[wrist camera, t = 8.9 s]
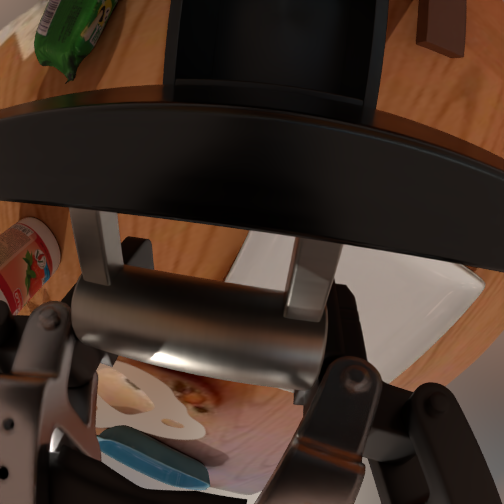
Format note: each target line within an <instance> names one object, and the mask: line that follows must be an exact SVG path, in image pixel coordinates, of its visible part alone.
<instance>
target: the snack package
mask: <svg viewBox="0 0 504 504" xmlns="http://www.w3.org/2000/svg"><path fill="white" fill-rule="evenodd" d="M117 2H118V0H49V2H48V4H47V7H46V9H45V11H44V14H43V16H42V18H41V20H40V23H39V26H38V28H37V31H36V35H35V41H34V48H35V54H36V56H37V59H38V61H39V63H40V65H42V66H53V67H55V68H57V69H58V70H59V71H61V72H62V73H63V74H64V75H65V76H66V77H67V78H68V81H67V82H69V81H73V80H74V78H75V76H76V71H77V68H78V66H79V64H80V63H81V61H82V60H83V59H84V58H85V57H86V56H87V55H88V54H89V53H90V52H91V51H92V49H93V48H94V46H95V44H96V42H97V40H98V38H99V36H100V35H101V33H102V31H103V29H104V27H105V25H106V23H107V21H108V19H109V17H110V15H111V13H112V11H113V9H114V7H115V5H116V3H117ZM67 82H66V83H67ZM66 83H65V84H66Z"/></svg>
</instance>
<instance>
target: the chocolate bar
mask: <svg viewBox="0 0 504 504" xmlns="http://www.w3.org/2000/svg"><path fill="white" fill-rule="evenodd" d="M465 34H466V0H419V8H418V24H417V36H416V44H417V45H420V46H423V47H425V48H428V49H430V50H433V51H435V52H438V53H440V54H443V55H445V56H447V57H450V58H461V57H464V49H465Z"/></svg>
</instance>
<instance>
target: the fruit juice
mask: <svg viewBox="0 0 504 504" xmlns="http://www.w3.org/2000/svg"><path fill="white" fill-rule="evenodd" d="M59 264H60V250H59V246H58V243H57V241H56V239H55V237H54V235H53V234H52V232H51V231H50V230H49V228H48V227H47V226H46V225H45V224H44V223H43V222H41V221H40V220H38V219H36V218H32V217H27V218H24V219H22V220H20V221H18V222H17V223H16V224H14V225H13V226H11V227H10V228H9V229H8V230H6V231H5V232H4V233H2V234H1V235H0V300H2V301H4V302H6V303H7V304H8V306H9V309H10V311H11V313H12V315H17V314H18V313H19V311H20V310H21V309H22V308H23V307H24V306H25V305H26V303H27V302H28V301H29V300H30V299H31V298H32V297H33V296H34V294H35V293H36V292H37V291H38V290H39V289H40V288H41V287H42V286H43V285H44V284H45V282H46V281H47V280H48V279H49V278H50V277H51V276H52V275H53V274H54V273H55V271H56V270H57V269H58V267H59Z"/></svg>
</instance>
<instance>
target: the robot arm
mask: <svg viewBox="0 0 504 504" xmlns="http://www.w3.org/2000/svg"><path fill="white" fill-rule="evenodd" d="M121 250H122V257H123V263H124V264H125V265H130V266H135V267H141V268H146V269H152V270H154V264H153V253H152V244H151V241H150V240H149V239H143V238H137V237H130V236H128V237H126V238H125V239H124V241H123V242H122V243H121ZM75 286H76V284H75V285H74V286H73V287H72V289H71V290H70V291H69V292H68V293H67V295H66V296H65V297H64V298H63V299H62V301H61V302H60V301H51V302H47V303H44V304H42V305H40V306H38V307H37V308H36V309H34V311H33V312H32V313H31V314H30V316H22V315H12V313H11V311H10V309H9V306H8V304H7V303H6V302H4V301H2V300H0V504H247V499H240V498H233V497H226V496H220V495H215V494H209V493H204V492H199V491H172V490H152V489H145V488H141V487H139V486H137V485H136V484H134V483H133V482H131V481H129V480H128V479H126V478H125V477H123V476H122V475H120V474H119V473H117V472H116V471H114V470H113V469H111V468H110V467H108V466H107V465H105V464H104V463H102V462H101V450H100V445H99V442H98V439H97V436H96V429H95V424H96V401H97V387H98V374H97V372H96V370H97V368H98V366H99V364H100V363H102V364H105V365H108V366H111V367H113V365H114V363H115V361H116V359H117V357H118V355H117V354H113V353H110V352H107V351H103V350H100V349H97V348H94V347H91V346H88V345H85V344H83V343H82V342H81V341H80V340H79V339H78V338H77V336H76V334H75V332H74V330H73V326H72V321H71V303H72V296H73V292H74V289H75ZM326 306H327V312H328V332H327V342H326V349H325V355H324V360H323V364H322V367H321V371H320V374H319V376H318V379H317V381H316V383H315V385H314V386H313V388H312V389H310V390H307V391H304V390H294V403H293V404H295V405H304V408H303V418H302V420H301V422H300V424H299V426H298V428H297V430H296V432H295V434H294V436H293V438H292V440H291V442H290V443H289V445H288V447H287V449H286V451H285V453H284V454H283V456H282V458H281V460H280V462H279V463H278V465H277V467H276V469H275V470H274V472H273V474H272V476H271V477H270V479H269V481H268V482H267V484H266V485H265V487H264V489H263V490H262V492H261V494H260V495H259V497H258V498H257V500H256V501H255V503H254V504H354V502H355V500H356V497H357V495H358V492H359V490H360V487H361V484H362V482H363V479H364V475H365V465H364V464H363V463H362V457H366V458H368V461H369V464H370V467H371V470H372V474H373V477H374V480H375V484H376V487H377V490H378V494H379V497H380V500H381V504H502V502H501V499H500V496H499V494H498V491H497V488H496V486H495V483H494V480H493V478H492V475H491V473H490V470H489V468H488V466H487V463H486V461H485V459H484V456H483V454H482V452H481V449H480V447H479V445H478V443H477V440H476V438H475V436H474V434H473V432H472V430H471V428H470V426H469V423H468V422H467V419H466V417H465V415H464V413H463V411H462V409H461V407H460V405H459V403H458V402H457V400H456V398H455V396H454V395H453V393H452V392H451V391H450V390H449V389H447V388H446V387H445V386H443V385H441V384H438V383H433V382H429V383H424V384H422V385H420V386H419V387H418V388H417V389H416V390H415V391H414V392H411V391H408V390H405V389H401V388H398V387H395V386H392V385H390V384H387V383H386V382H384V381H382V378H381V375H380V373H379V372H378V370H377V369H376V368H375V367H374V366H373V365H372V364H371V363H369V362H368V360H367V354H366V349H365V344H364V338H363V333H362V328H361V323H360V321H359V319H360V318H359V313H358V311H357V304H356V300H355V296H354V295H353V293H352V292H351V291H350V289H349V288H348V287H347V285H344V284H337V283H335V279H334V280H333V283H332V286H331V289H330V293H329V296H328V299H327V302H326Z"/></svg>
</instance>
